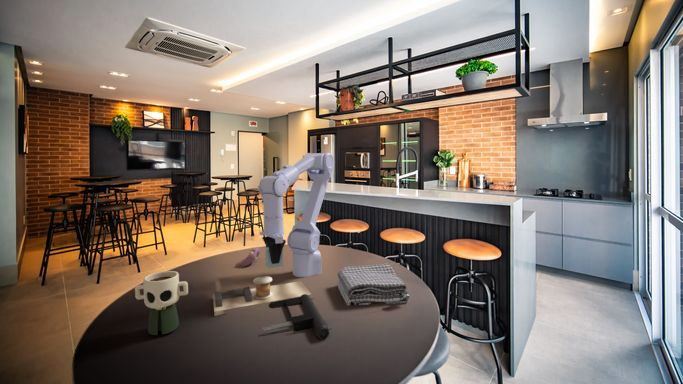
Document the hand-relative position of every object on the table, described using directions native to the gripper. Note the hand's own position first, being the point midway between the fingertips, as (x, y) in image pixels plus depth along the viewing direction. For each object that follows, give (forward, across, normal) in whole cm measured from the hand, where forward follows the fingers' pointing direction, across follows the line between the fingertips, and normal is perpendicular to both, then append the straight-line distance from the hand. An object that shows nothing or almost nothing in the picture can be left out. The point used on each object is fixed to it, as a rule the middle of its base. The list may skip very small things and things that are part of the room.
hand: (274, 261), depth 93 cm
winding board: (+9, +3, -4) cm, 11 cm away
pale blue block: (+1, 0, 0) cm, 1 cm away
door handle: (+10, +20, 0) cm, 22 cm away
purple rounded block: (+10, -31, -2) cm, 33 cm away
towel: (+10, +15, +25) cm, 31 cm away
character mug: (+10, +11, -28) cm, 32 cm away
